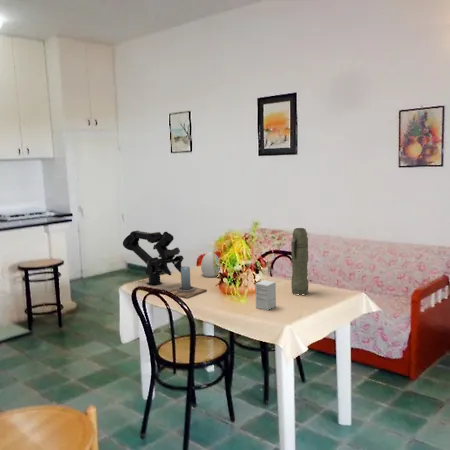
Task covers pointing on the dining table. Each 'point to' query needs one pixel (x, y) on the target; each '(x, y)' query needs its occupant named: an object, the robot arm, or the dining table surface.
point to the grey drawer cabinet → (265, 294)
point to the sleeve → (185, 278)
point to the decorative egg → (210, 265)
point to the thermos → (299, 261)
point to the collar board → (188, 292)
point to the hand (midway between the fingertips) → (176, 273)
